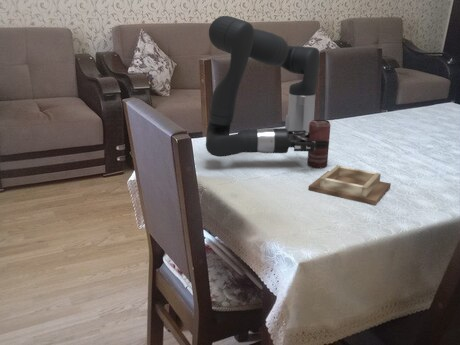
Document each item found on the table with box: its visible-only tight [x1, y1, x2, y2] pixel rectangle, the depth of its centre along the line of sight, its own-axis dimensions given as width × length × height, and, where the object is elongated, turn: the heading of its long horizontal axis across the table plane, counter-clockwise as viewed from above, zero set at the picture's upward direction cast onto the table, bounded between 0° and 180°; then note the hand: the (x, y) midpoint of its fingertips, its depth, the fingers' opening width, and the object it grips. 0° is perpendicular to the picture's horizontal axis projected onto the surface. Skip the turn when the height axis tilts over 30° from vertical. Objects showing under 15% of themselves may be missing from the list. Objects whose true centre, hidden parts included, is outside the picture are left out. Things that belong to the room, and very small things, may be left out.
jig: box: [307, 164, 392, 206], centre depth 122 cm, size 18×14×4 cm
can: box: [307, 119, 331, 169], centre depth 139 cm, size 6×6×14 cm
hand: (324, 140), depth 138 cm, fingers open, 8 cm apart
